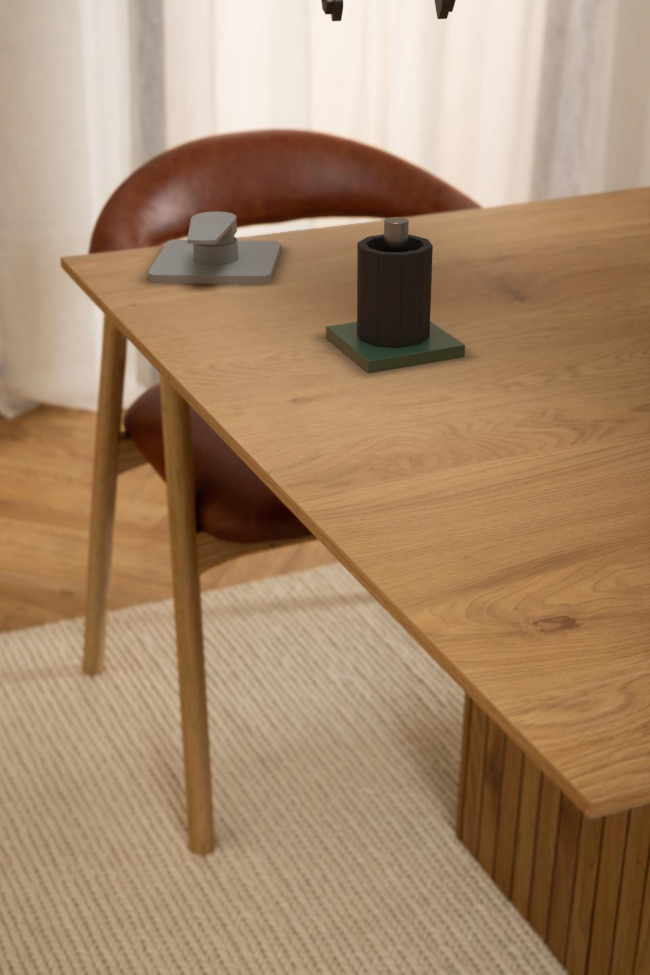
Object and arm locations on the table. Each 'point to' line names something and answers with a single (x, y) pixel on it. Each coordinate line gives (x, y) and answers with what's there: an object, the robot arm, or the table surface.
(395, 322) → the faceted pencil cup
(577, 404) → the table surface
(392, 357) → the holder
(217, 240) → the shower valve
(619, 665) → the table surface
